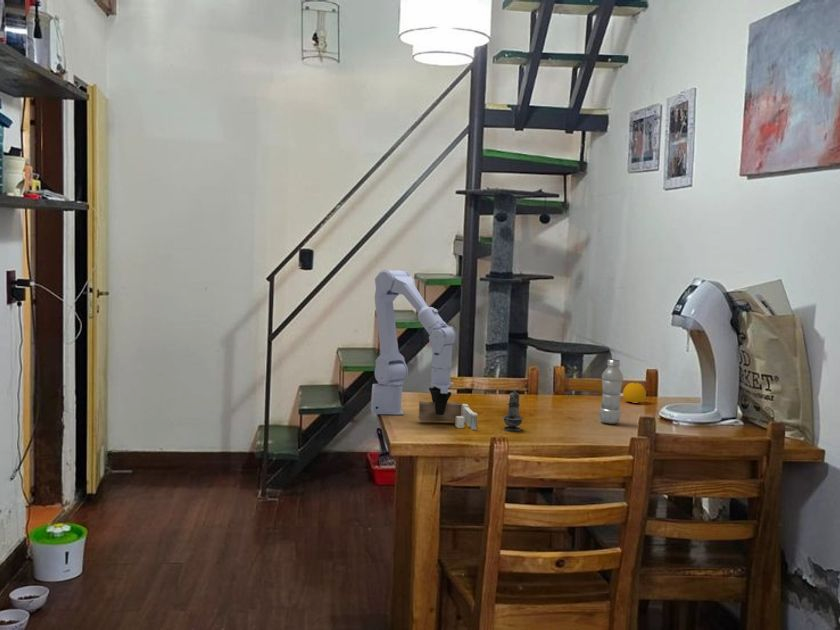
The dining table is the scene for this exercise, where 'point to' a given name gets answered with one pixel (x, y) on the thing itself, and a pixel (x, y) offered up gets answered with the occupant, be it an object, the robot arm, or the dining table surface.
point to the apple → (634, 392)
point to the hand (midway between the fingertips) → (438, 413)
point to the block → (429, 414)
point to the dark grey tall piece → (513, 413)
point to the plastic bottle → (611, 393)
